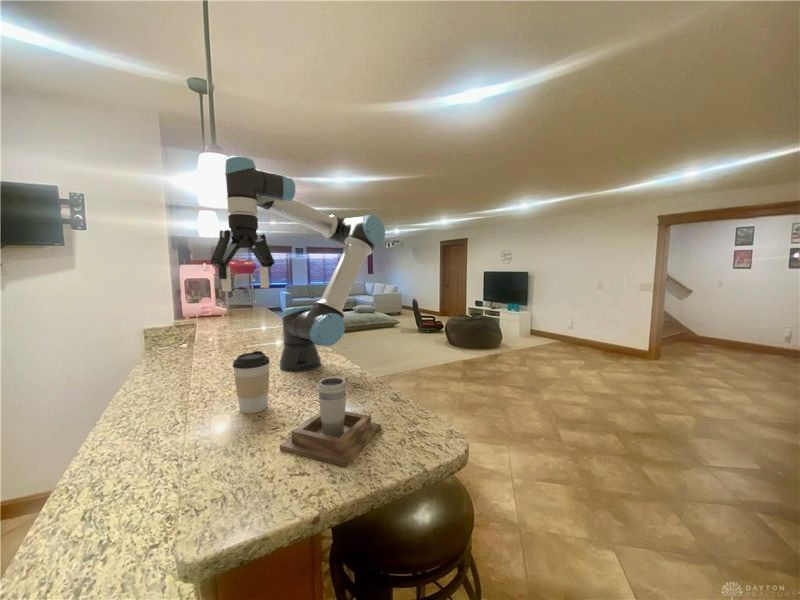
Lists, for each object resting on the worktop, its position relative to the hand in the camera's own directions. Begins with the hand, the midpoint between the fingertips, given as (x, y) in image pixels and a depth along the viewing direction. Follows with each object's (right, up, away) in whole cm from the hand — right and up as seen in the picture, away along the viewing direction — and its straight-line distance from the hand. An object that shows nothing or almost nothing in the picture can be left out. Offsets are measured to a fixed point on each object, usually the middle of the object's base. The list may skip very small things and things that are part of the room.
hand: (247, 289), depth 94 cm
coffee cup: (+5, -33, -6) cm, 34 cm away
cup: (+30, -33, -22) cm, 49 cm away
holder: (+30, -34, -22) cm, 50 cm away
